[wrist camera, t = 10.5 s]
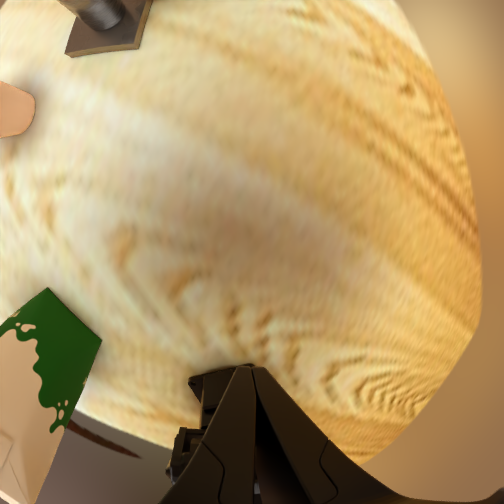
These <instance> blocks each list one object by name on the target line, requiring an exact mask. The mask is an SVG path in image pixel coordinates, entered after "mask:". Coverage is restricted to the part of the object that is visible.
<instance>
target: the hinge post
mask: <svg viewBox="0 0 504 504" xmlns="http://www.w3.org/2000/svg"><path fill="white" fill-rule="evenodd" d="M57 1H58V2H60V3H61V4H62V5H63V6H65V7H66V8H67V9H68V10H70V11H71V12H72V13H73V14H74V15H76V16H77V17H76V19H75V22H74V25H73V28H72V31H71V34H70V37H69V40H68V43H67V46H66V50H65V53H64V54H66V55H68V56H70V57H71V58H72V57H77V56H82V55H88V54H95V53H102V52H110V51H119V50H130V49H139V45H140V41H141V37H142V33H143V30H144V26H145V23H146V20H147V16H148V13H149V10H150V7H151V4H152V1H153V0H57Z"/></svg>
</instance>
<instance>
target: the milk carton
mask: <svg viewBox="0 0 504 504" xmlns="http://www.w3.org/2000/svg"><path fill="white" fill-rule="evenodd" d="M101 341H102V340H101V339H100V338H99V337H97V336H96V335H95V334H94V333H93V332H92V331H91V330H90V329H89V328H87V327H86V326H85V325H84V324H83V323H82V322H81V321H80V320H79V319H78V318H77V317H76V316H75V315H74V314H73V313H72V312H71V311H70V310H69V309H68V308H67V307H66V306H65V305H64V304H63V303H62V302H61V301H60V300H59V299H58V298H57V297H56V296H55V295H54V294H53V293H52V292H51V291H50V290H49V289H48V288H46V289H45V290H43V291H42V292H41V293H39V294H38V295H37V296H35V297H34V298H33V299H31V300H30V301H29V302H28V303H26V304H25V305H24V306H22V307H21V308H20V309H19V310H17V311H16V312H15V313H14V314H13V315H11V316H10V317H9V318H8V319H7V320H6V321H5V322H4V323H3V324H2V325H1V326H0V497H1V498H2V499H4V500H6V501H7V502H8V503H10V504H35V502H36V499H37V497H38V494H39V492H40V489H41V487H42V485H43V483H44V480H45V478H46V476H47V474H48V471H49V469H50V466H51V464H52V461H53V458H54V456H55V453H56V451H57V448H58V445H59V443H60V440H61V438H62V436H63V434H64V431H65V429H66V426H67V424H68V422H69V420H70V417H71V415H72V413H73V411H74V408H75V406H76V404H77V402H78V400H79V398H80V395H81V393H82V391H83V389H84V386H85V383H86V381H87V378H88V375H89V372H90V370H91V367H92V364H93V361H94V359H95V356H96V354H97V351H98V349H99V346H100V344H101Z"/></svg>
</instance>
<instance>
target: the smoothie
mask: <svg viewBox="0 0 504 504" xmlns="http://www.w3.org/2000/svg"><path fill="white" fill-rule="evenodd" d="M34 113H35V100H34V98H33V96H32V95H31V94H29V93H27V92H24V91H22V90H20V89H18V88H16V87H13V86H11V85H9V84H7V83H4V82H2V81H0V138H4V137H8V136H13V135H18V134H21V133H23V132H24V131H25V130H26V129H27V128H28V127H29V125H30V124H31V122H32V120H33V117H34Z"/></svg>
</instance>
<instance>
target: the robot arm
mask: <svg viewBox="0 0 504 504" xmlns="http://www.w3.org/2000/svg"><path fill="white" fill-rule="evenodd" d="M193 382H195V383H193ZM188 385H189V386H190V388H191V389H192V391H193V392H194V394H195V396H196V397H197V399H198V400H199V402H200V403H201V410H200V427H199V429H188V428H187V427H180V430H179V434H177V436H176V438H175V441H174V448H173V453H172V456H171V459H170V461H169V463H168V465H167V467H166V475H167V476H168V477H169V478H170V479H171V481H172V485H173V486H172V487H171V488H170V490H169V491H168V492H167V493H166V495H165V496H164V497H163V498H162V500H161V501H160V502H159V503H158V504H504V487H501V488H499V489H498V490H496V491H495V492H494V493H493V494H491V495H490V496H489V497H487V498H486V499H484V500H480V501H475V502H445V501H432V500H422V499H414V498H409V497H405V496H403V495H400V494H398V493H396V492H394V491H393V490H391V489H390V488H388V487H387V486H385V485H384V484H382V483H381V482H379V481H378V480H376V479H375V478H374V477H373V476H371V475H370V474H368V473H367V472H366V471H364V470H363V469H362V468H361V467H359V466H358V465H357V464H356V463H354V462H353V461H352V460H351V459H349V458H348V457H347V456H346V455H345V454H344V453H343V452H342V451H341V450H340V449H339V448H338V447H337V446H336V445H335V444H334V443H333V442H332V441H331V440H328V437H327V436H326V435H325V434H324V433H323V432H322V431H321V430H320V429H319V428H318V427H317V426H316V424H315V423H314V422H313V421H312V420H311V419H310V418H309V417H308V416H307V415H306V414H305V413H304V411H303V410H302V409H301V408H300V407H299V406H298V405H297V404H296V403H295V401H294V400H293V399H292V398H291V397H290V396H289V395H288V394H287V392H286V391H285V390H284V389H283V388H282V387H281V386H280V384H279V383H278V382H277V381H276V380H275V379H274V378H273V376H272V375H271V374H270V373H269V372H268V370H267V369H266V368H264V367H255V366H254V365H253V364H247V365H243V366H238V367H236V368H231V369H227V370H223V371H219V372H214V373H210V374H205V375H201V376H196V377H191V378H189V380H188Z"/></svg>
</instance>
